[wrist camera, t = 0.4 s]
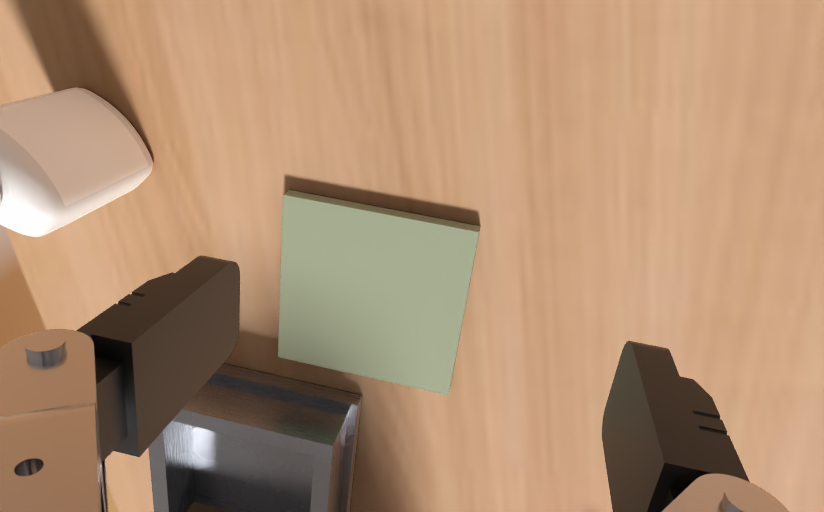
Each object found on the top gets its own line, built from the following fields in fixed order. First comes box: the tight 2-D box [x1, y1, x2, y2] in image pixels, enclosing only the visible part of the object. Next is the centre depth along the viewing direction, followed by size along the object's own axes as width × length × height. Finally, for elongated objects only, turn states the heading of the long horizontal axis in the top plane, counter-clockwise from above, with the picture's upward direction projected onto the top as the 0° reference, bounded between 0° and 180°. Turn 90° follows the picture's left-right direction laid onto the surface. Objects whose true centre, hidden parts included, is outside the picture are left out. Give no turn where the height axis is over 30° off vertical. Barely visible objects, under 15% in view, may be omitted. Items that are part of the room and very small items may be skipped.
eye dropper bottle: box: [0, 87, 153, 237], centre depth 27 cm, size 4×6×12 cm
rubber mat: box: [278, 190, 480, 395], centre depth 33 cm, size 10×10×1 cm
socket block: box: [149, 363, 362, 512], centre depth 38 cm, size 12×12×4 cm
